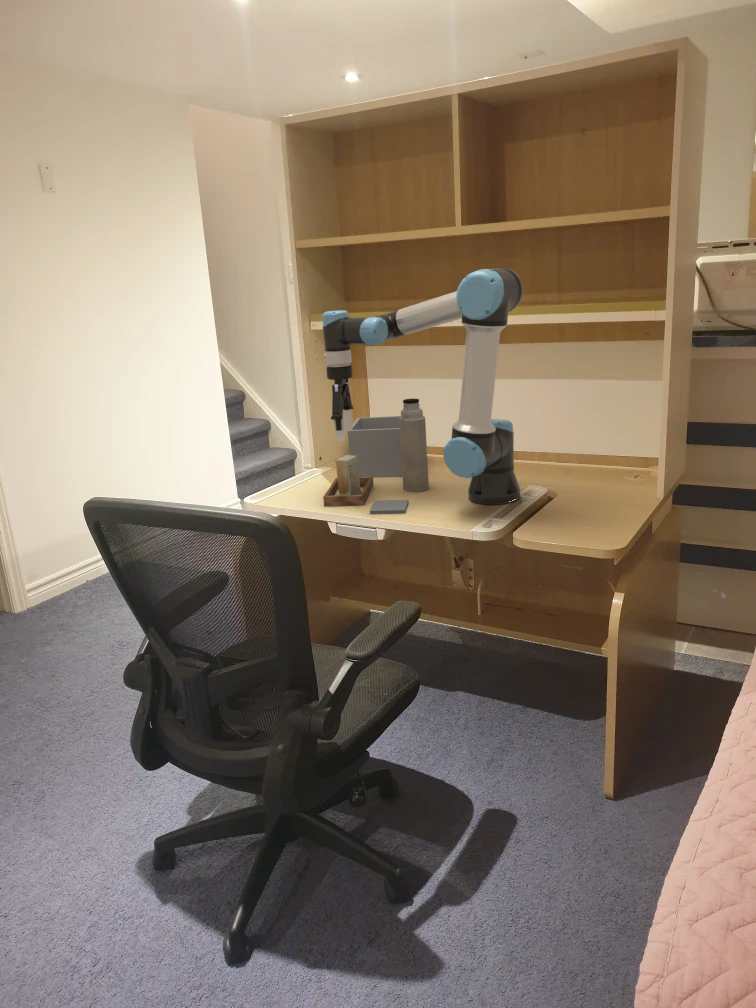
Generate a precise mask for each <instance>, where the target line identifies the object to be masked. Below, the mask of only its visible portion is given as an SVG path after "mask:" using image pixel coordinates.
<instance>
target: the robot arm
mask: <svg viewBox="0 0 756 1008" xmlns="http://www.w3.org/2000/svg"><path fill="white" fill-rule="evenodd" d="M524 288H525V287H524V283H523V281H522V278H521V277H520V275H519V274H518V273H517V272H515V271H514V270H513V269H510V268H507V267H497V268H484V269H483V268H481V269H477V270H476V271H471V272H470V273H469V274H466V276H465V277H464V278H463V279H462V280H461V282H460V283H459V285H458V287H457V290H456V291H453V292H450V293H447V294H444V295H441V296H437V297H434V298H430V299H428V300H426V301H425V300H424V301H421V302H419V303H416V304H413V305H409V306H406V307H403V308H401V309H396V310H393V311H390V312H386V313H383V314H377V315H376V314H375V315H370V316H365V317H364V316H363V317H360V316H359V317H350V316H349V312H348V310H342V309H341V310H329V311H325V312H323V314H322V331H323V332H322V333H323V339H324V351H325V352H324V354H323V358H325V364H326V365H327V366H326V378H327V380H330V381H334V384H332V385H331V388H332V389H331V390H332V394H331V395H332V398H331V399H332V400H331V401H332V406H331V411H332V412H331V413H332V414H331V416H330V420H333V424H334V438H335V439H334V440H335V442H345V441H346V436H345V432H347V431H353V430H352V425H353V419H352V410H354V405H353V403H352V397H351V392H350V386H349V385H350V384H349V380H350V379H351V378H353V366H352V365H351V363H352V362H353V361H352V360H353V359H352V350H351V345H369V346H375V345H382V344H384V343H385V342H386V341H388V340H396V339H399V338H401V337H404V336H406V335H410V334H413V333H417V332H420V331H424V330H426V329H427V330H428V329H430V328H434V327H438V326H441V325H443V324H448V323H452V322H455V321H458V320H461V324H462V325H463V326H464V328H465V330H466V335H465V348H464V355H463V356H464V357H463V366H462V367H463V368H462V379H461V391H460V392H461V393H460V403H459V413H458V419H457V420H456V421H455V422H453V424H452V428H451V438H450V440H449V441H447V443H446V444H445V446H444V448H443V452H442V453H443V460H444V463H445V466H446V467H447V468H448V469H449V470H450V471H451V473H452V474H453V475H455V476H457V477H459V478H461V479H462V478H463V479H470V478H471V480H470V483H469V485H468V490H467V491H468V492H467V493H468V494H467V495H468V496H467V498H468V500H469V501H471V502H473V503H476V504H480V505H504V504H505V505H506V504H509V503H508V502H509V501H512V500H514V499H517V498H519V497H520V498H521V487H520V484H519V481H518V479H517V477H516V473H515V461H514V459H515V454H514V452H515V451H514V449H515V448H514V434H515V432H514V426H513V422H512V421H510V420H507V419H497V418H492V413H493V412H492V411H493V404H494V395H495V385H496V377H497V376H496V375H497V366H498V358H499V357H498V355H499V348H500V347H499V346H500V337H501V332H502V331H503V330H504V329H506V327H507V326H508V318H509V313H510V312H512V311H513V310H515V309H516V308H517V307H518V306H519V305H520V303H521V301H522V300H523V297H524V290H525V289H524ZM520 498H519V499H520Z"/></svg>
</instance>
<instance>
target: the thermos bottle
mask: <svg viewBox="0 0 756 1008" xmlns="http://www.w3.org/2000/svg"><path fill="white" fill-rule="evenodd" d="M419 402H420V399H419V398H405V399H403V400H402V403H403V405H402V407H403V409H401V411H400V416H401V418H399V428H400V444H401V460H402V476H401V477H402V489H403V491H404V492H410V493H417V492H418V493H419V492H423V491H427V490H429V486H430V483H429V482H430V481H429V467H428V450H427V449H428V446H427V428H426V424H427V423H426V416H424V412H423V408H420V403H419Z"/></svg>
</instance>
